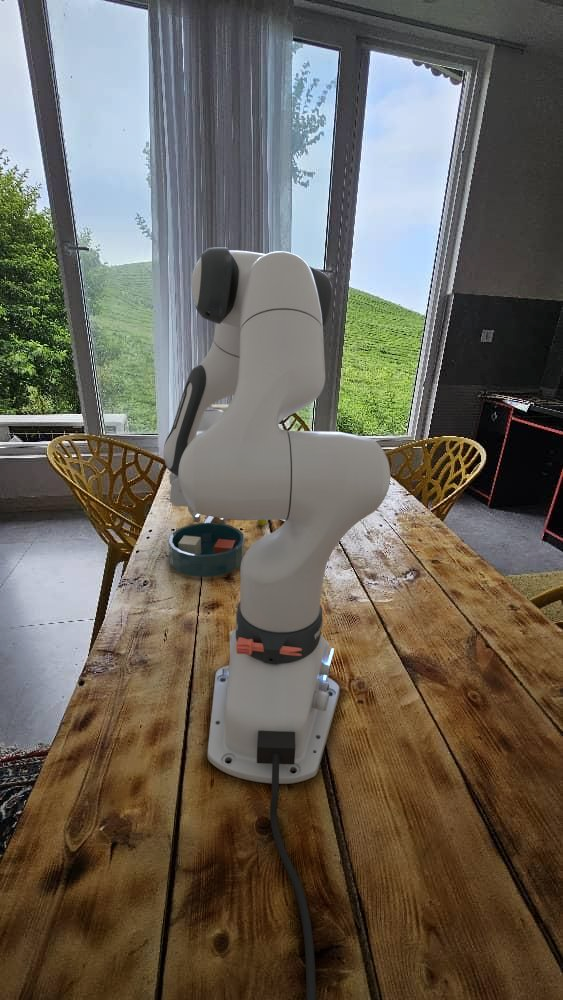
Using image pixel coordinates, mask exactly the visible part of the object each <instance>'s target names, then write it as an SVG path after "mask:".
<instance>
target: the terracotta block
mask: <svg viewBox="0 0 563 1000" xmlns="http://www.w3.org/2000/svg"><path fill="white" fill-rule="evenodd" d="M235 546H236V540H226V539H218V541H217V542H216V544H215V546H214V554H217V553H221V552H225V551H228V550H230V549H232V548H234V547H235Z"/></svg>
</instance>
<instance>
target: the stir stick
mask: <svg viewBox="0 0 563 1000" xmlns="http://www.w3.org/2000/svg"><path fill="white" fill-rule="evenodd" d="M218 522H220V518H217V517H212V516H207V518H205V520H204V522H203V523H218Z"/></svg>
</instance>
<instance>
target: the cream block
mask: <svg viewBox="0 0 563 1000" xmlns="http://www.w3.org/2000/svg"><path fill="white" fill-rule="evenodd" d="M178 549H180V550H181V551H184V552H187V553H191V554H199V555H200V553H201V537H195V536H183V538H182V539H181V540H180V541H179V543H178Z"/></svg>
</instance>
